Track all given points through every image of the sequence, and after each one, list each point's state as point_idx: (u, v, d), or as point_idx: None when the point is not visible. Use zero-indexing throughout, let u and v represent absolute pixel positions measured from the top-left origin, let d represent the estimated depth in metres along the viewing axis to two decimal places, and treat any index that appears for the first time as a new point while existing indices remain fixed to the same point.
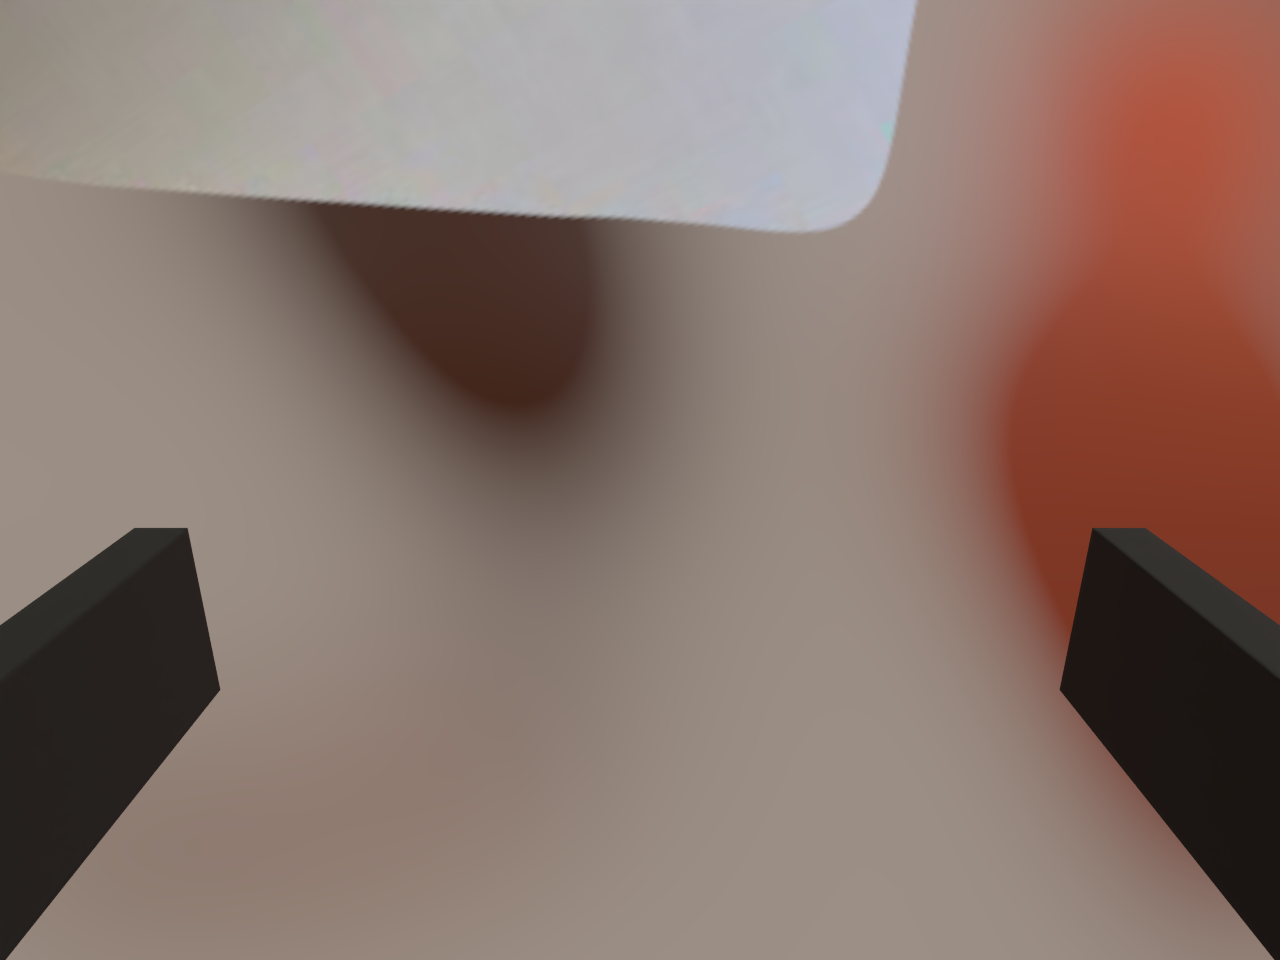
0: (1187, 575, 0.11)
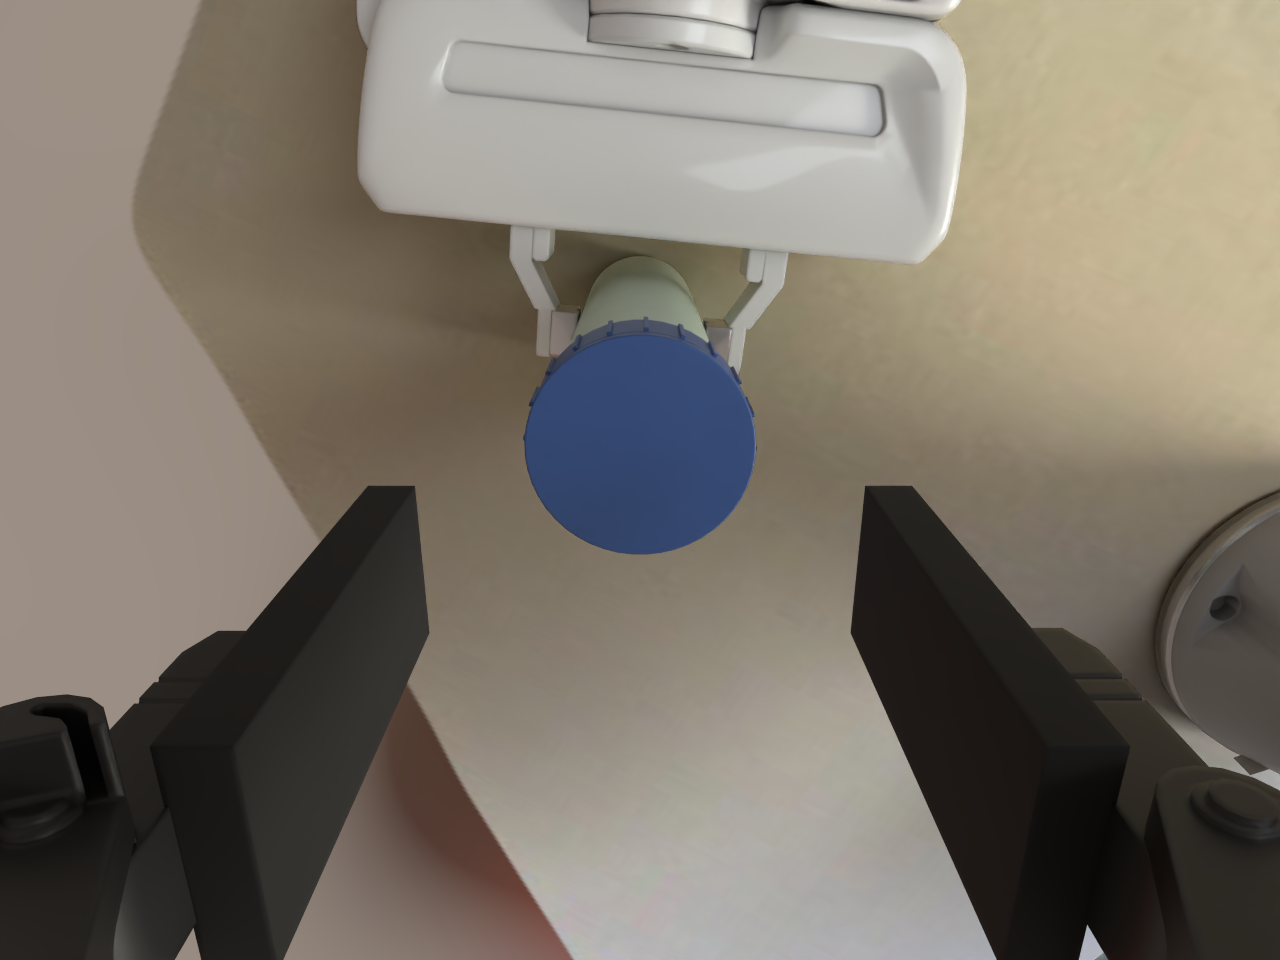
0: (921, 523, 0.12)
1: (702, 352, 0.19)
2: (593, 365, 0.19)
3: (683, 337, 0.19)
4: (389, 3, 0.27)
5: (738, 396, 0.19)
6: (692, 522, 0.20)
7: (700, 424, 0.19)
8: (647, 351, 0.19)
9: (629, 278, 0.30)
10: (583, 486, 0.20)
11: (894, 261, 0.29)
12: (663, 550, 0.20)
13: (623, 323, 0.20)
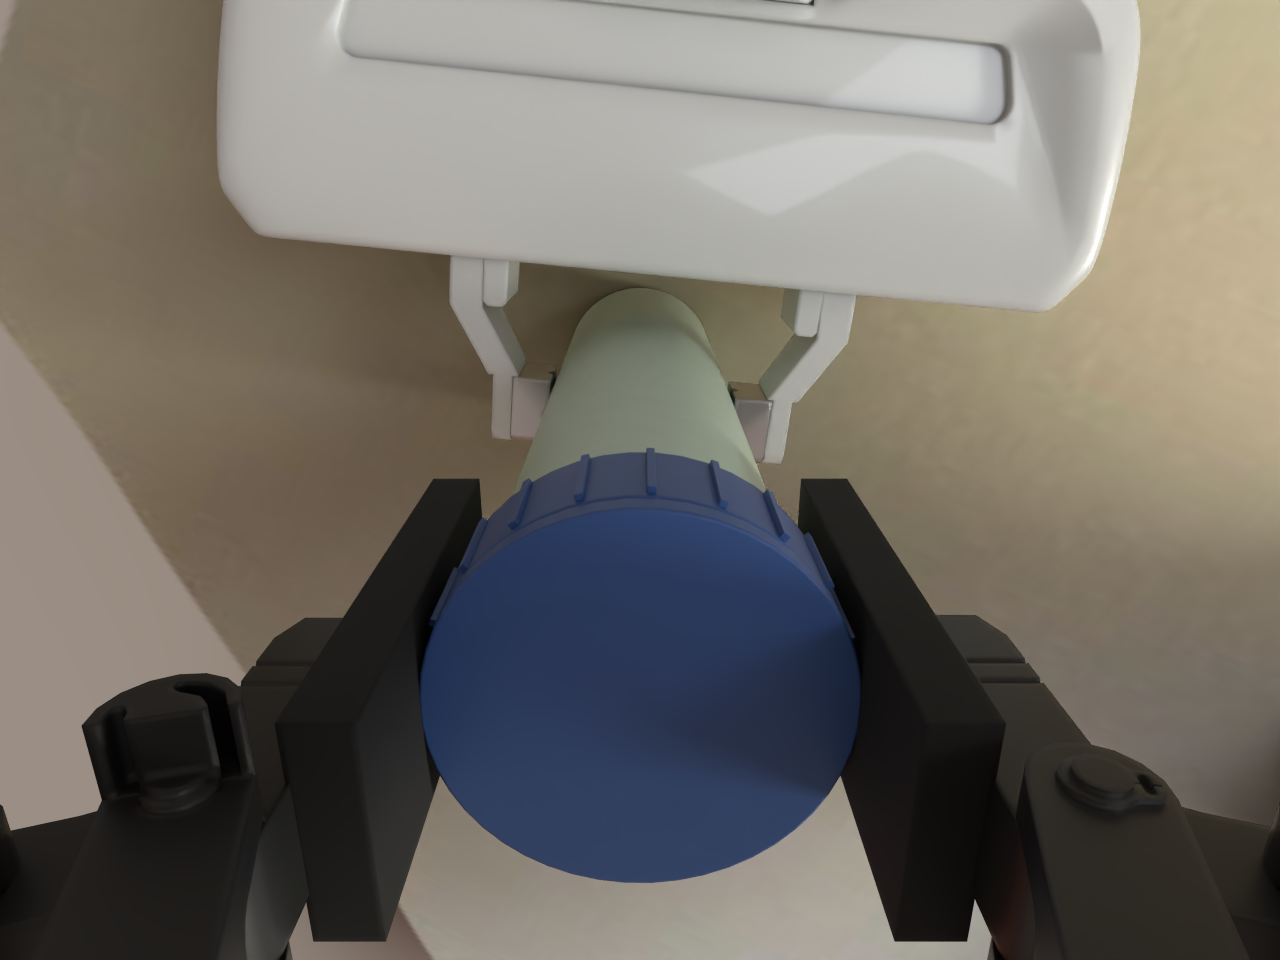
0: (849, 513, 0.13)
1: (763, 540, 0.10)
2: (547, 565, 0.10)
3: (724, 504, 0.10)
4: None
5: (831, 620, 0.10)
6: (737, 832, 0.11)
7: (756, 669, 0.10)
8: (654, 539, 0.09)
9: (624, 330, 0.21)
10: (533, 774, 0.11)
11: (1013, 308, 0.20)
12: (682, 877, 0.11)
13: (608, 463, 0.11)
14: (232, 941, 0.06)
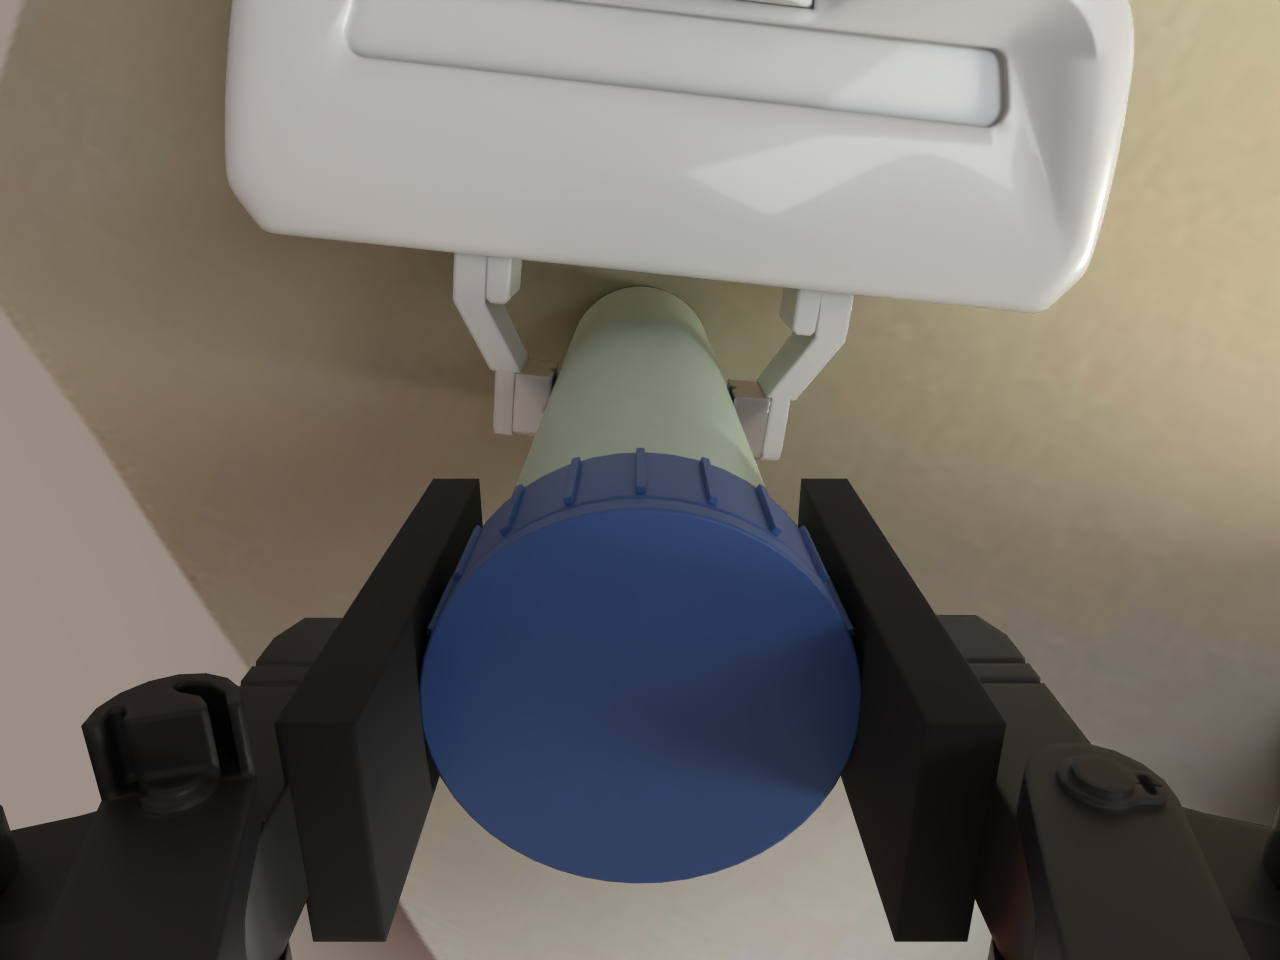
0: (849, 514, 0.13)
1: (438, 619, 0.10)
2: (485, 790, 0.11)
3: (430, 631, 0.10)
4: None
5: (517, 551, 0.10)
6: (792, 616, 0.10)
7: (581, 615, 0.10)
8: (449, 710, 0.10)
9: (625, 328, 0.21)
10: (716, 799, 0.11)
11: (1008, 308, 0.20)
12: (853, 666, 0.10)
13: None
14: (232, 941, 0.06)
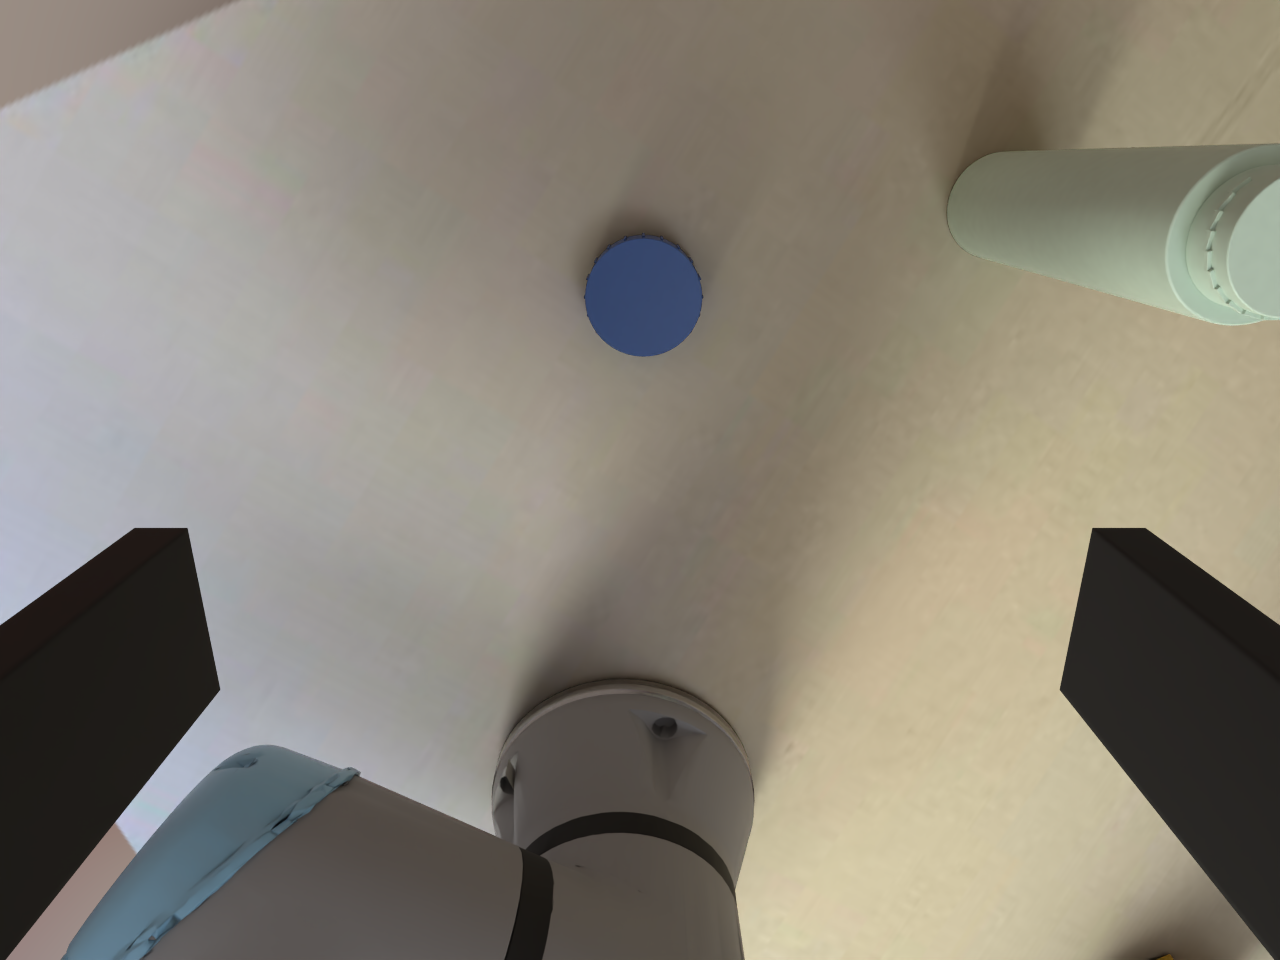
0: (1187, 576, 0.11)
1: None
2: (601, 323, 0.39)
3: (587, 278, 0.39)
4: None
5: (612, 250, 0.38)
6: (682, 269, 0.38)
7: (628, 268, 0.38)
8: (593, 297, 0.39)
9: None
10: (664, 327, 0.39)
11: None
12: (698, 283, 0.39)
13: None
14: None
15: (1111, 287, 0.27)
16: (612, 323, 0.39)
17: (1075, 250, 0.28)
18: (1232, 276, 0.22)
